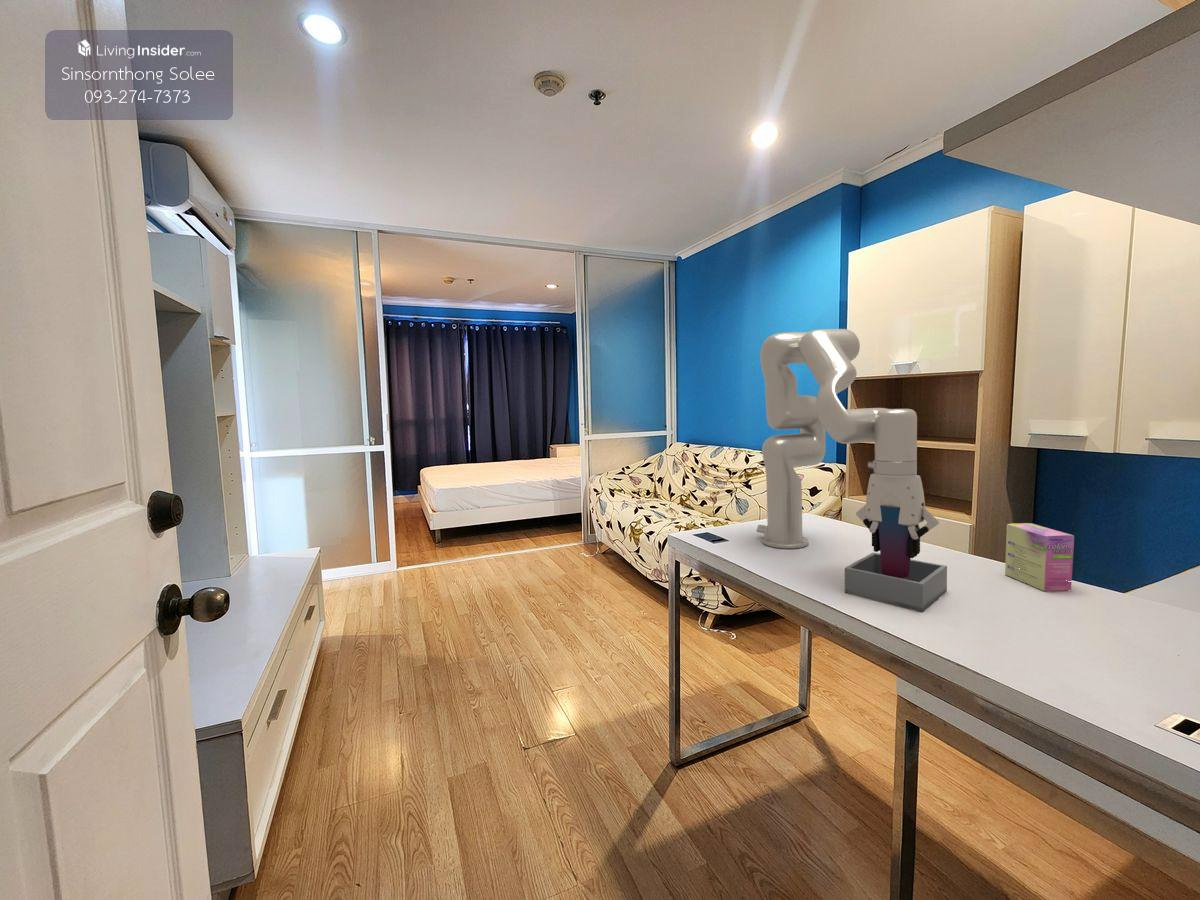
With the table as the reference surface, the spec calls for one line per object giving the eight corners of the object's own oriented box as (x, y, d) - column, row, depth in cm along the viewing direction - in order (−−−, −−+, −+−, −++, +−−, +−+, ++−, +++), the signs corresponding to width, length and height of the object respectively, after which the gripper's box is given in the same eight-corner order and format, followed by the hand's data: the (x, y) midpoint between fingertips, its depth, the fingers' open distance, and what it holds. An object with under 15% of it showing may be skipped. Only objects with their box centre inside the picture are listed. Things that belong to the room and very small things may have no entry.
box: (1072, 591, 102) (1074, 534, 101) (1044, 592, 102) (1046, 535, 101) (1030, 574, 112) (1031, 522, 111) (1004, 575, 112) (1005, 523, 111)
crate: (844, 592, 107) (844, 567, 106) (872, 575, 116) (872, 552, 116) (922, 612, 96) (922, 584, 95) (946, 591, 105) (947, 565, 104)
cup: (921, 578, 102) (922, 506, 101) (888, 580, 102) (888, 508, 101) (901, 568, 109) (901, 500, 108) (870, 569, 109) (870, 501, 108)
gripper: (844, 468, 108) (845, 549, 109) (937, 473, 95) (936, 566, 96) (859, 464, 113) (860, 542, 114) (950, 469, 99) (949, 557, 101)
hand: (895, 552), depth 105 cm, fingers closed on cup, 6 cm apart
